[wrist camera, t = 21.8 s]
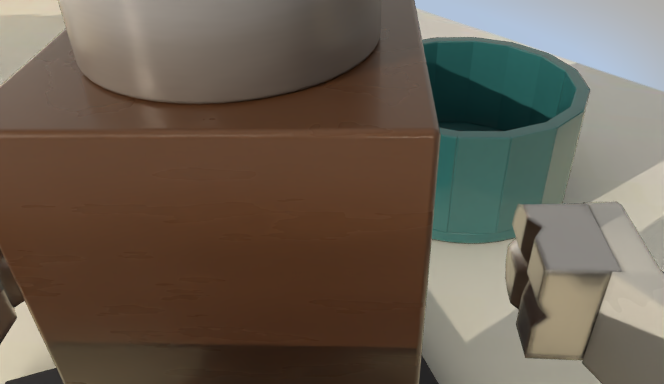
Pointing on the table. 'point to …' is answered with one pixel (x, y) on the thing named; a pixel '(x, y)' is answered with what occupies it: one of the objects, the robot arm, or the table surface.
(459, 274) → the table surface
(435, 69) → the teal cup
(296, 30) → the pepper mill
